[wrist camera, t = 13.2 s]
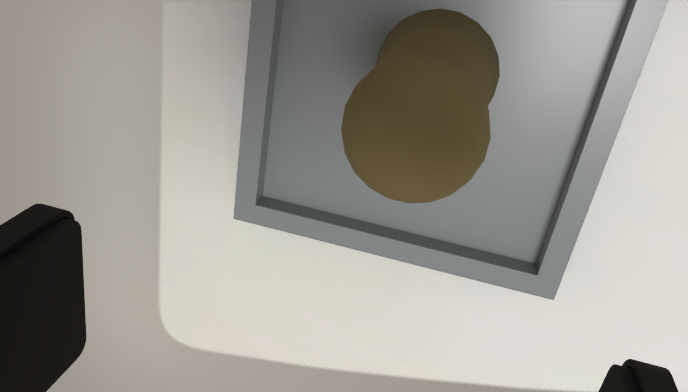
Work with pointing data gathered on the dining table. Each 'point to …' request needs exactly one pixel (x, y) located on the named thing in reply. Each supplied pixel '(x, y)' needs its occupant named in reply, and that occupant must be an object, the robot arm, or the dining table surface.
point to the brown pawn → (423, 108)
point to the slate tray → (505, 130)
